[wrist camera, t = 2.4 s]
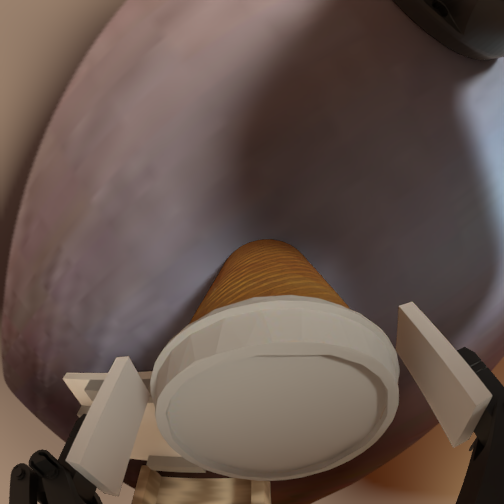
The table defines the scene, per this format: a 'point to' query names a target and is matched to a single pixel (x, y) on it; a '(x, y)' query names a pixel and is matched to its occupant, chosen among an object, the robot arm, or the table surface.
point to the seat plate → (148, 436)
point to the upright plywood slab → (198, 490)
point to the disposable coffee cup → (274, 373)
